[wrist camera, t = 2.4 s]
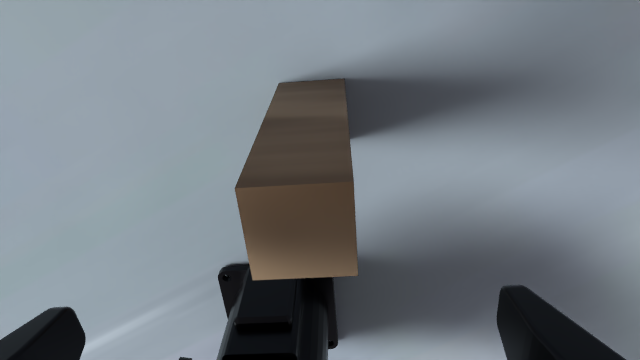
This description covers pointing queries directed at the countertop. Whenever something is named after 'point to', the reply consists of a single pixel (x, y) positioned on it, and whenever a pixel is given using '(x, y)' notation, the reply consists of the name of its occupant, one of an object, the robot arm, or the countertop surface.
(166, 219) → the countertop surface
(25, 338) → the robot arm
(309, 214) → the peg
